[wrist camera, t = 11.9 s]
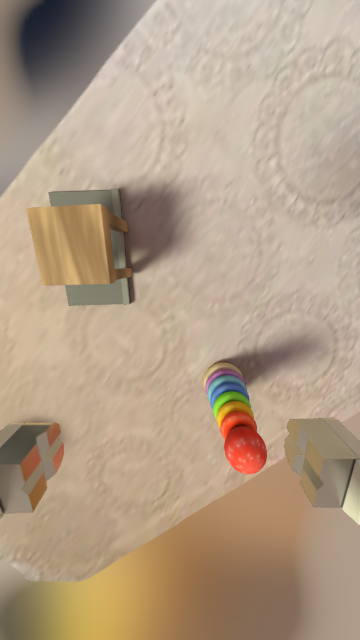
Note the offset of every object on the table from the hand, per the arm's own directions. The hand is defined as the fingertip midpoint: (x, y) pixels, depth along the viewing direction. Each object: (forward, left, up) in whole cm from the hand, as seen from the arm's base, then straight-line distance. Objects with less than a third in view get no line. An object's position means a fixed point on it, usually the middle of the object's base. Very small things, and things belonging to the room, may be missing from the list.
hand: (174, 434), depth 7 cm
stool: (+8, -8, -25) cm, 27 cm away
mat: (+14, -8, -31) cm, 35 cm away
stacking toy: (-8, +17, -31) cm, 36 cm away
